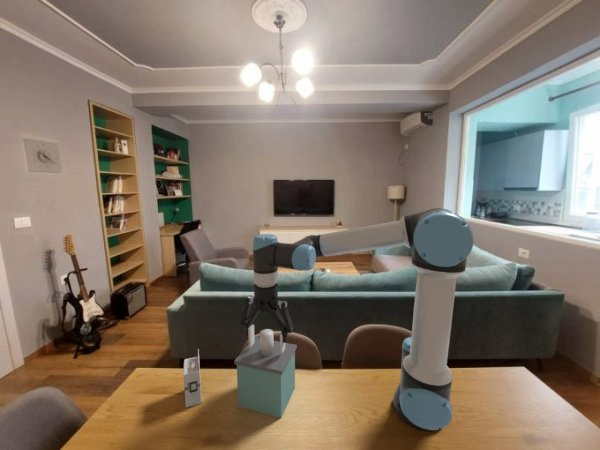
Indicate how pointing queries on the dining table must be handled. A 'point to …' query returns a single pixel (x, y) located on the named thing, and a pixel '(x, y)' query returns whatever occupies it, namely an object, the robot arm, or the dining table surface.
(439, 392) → the robot arm
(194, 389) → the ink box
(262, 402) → the box
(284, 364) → the lid
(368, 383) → the dining table surface
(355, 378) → the dining table surface
